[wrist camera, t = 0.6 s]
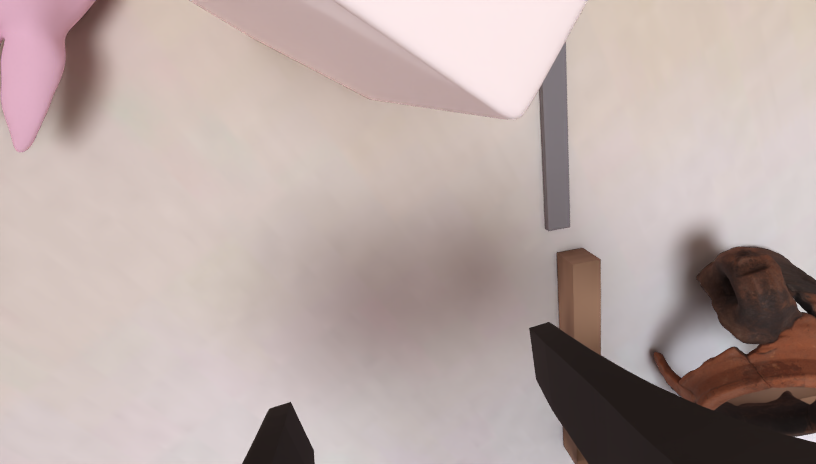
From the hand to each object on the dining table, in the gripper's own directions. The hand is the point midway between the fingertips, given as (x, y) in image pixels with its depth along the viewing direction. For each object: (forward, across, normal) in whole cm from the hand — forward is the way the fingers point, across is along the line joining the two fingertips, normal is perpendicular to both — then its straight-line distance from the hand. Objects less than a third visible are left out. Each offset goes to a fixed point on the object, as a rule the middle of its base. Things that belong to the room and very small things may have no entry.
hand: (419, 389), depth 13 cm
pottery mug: (+10, -18, +10) cm, 23 cm away
